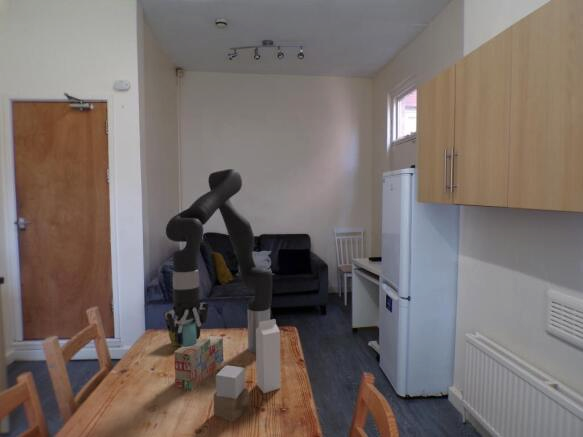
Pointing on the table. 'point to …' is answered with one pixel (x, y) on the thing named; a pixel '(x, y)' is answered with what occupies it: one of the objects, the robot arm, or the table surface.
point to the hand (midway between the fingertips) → (187, 341)
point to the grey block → (230, 382)
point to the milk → (268, 356)
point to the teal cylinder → (189, 334)
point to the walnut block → (231, 406)
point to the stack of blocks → (197, 361)
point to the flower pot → (172, 336)
